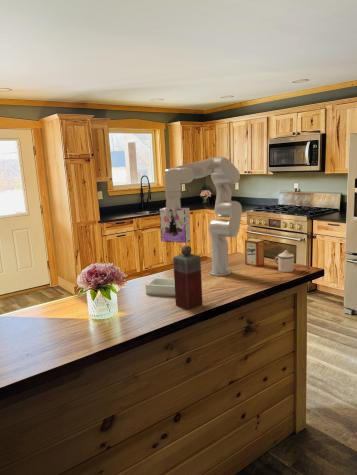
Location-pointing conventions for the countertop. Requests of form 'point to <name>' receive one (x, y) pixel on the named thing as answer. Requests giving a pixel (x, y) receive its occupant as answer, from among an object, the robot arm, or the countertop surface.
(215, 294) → the countertop surface
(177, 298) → the red canister with lid
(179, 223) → the candy box
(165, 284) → the tray
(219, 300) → the countertop surface
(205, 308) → the countertop surface
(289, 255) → the teacup with lid
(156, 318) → the countertop surface
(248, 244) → the baking soda box
